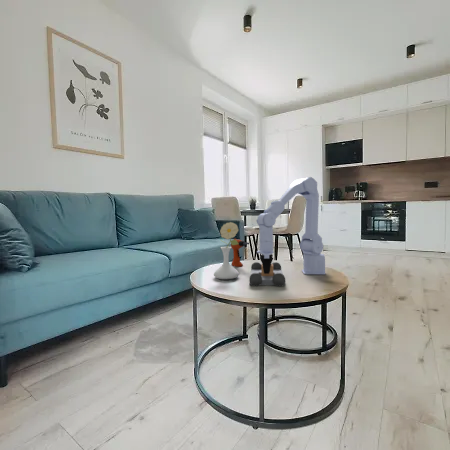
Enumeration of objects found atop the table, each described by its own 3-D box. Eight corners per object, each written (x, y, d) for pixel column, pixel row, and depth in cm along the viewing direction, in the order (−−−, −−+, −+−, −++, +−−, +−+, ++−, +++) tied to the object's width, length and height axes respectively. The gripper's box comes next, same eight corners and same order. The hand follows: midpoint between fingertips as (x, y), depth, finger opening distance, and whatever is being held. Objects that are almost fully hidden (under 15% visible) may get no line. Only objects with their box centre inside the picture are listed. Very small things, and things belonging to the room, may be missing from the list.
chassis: (281, 272, 131) (280, 262, 131) (285, 286, 107) (285, 273, 107) (251, 272, 133) (251, 262, 132) (249, 286, 109) (249, 273, 109)
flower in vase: (208, 278, 122) (206, 222, 121) (225, 273, 131) (224, 221, 129) (230, 283, 114) (229, 223, 112) (247, 278, 122) (246, 221, 121)
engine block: (273, 275, 122) (272, 264, 121) (273, 277, 117) (273, 266, 117) (261, 275, 122) (261, 264, 122) (261, 277, 118) (261, 266, 118)
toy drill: (246, 268, 135) (243, 237, 136) (230, 266, 152) (228, 239, 153) (254, 267, 137) (252, 237, 138) (238, 265, 154) (235, 238, 155)
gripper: (257, 239, 127) (257, 268, 128) (256, 243, 112) (257, 276, 113) (272, 239, 126) (273, 268, 127) (274, 243, 111) (274, 276, 112)
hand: (266, 272), depth 120 cm, fingers closed on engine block, 4 cm apart
